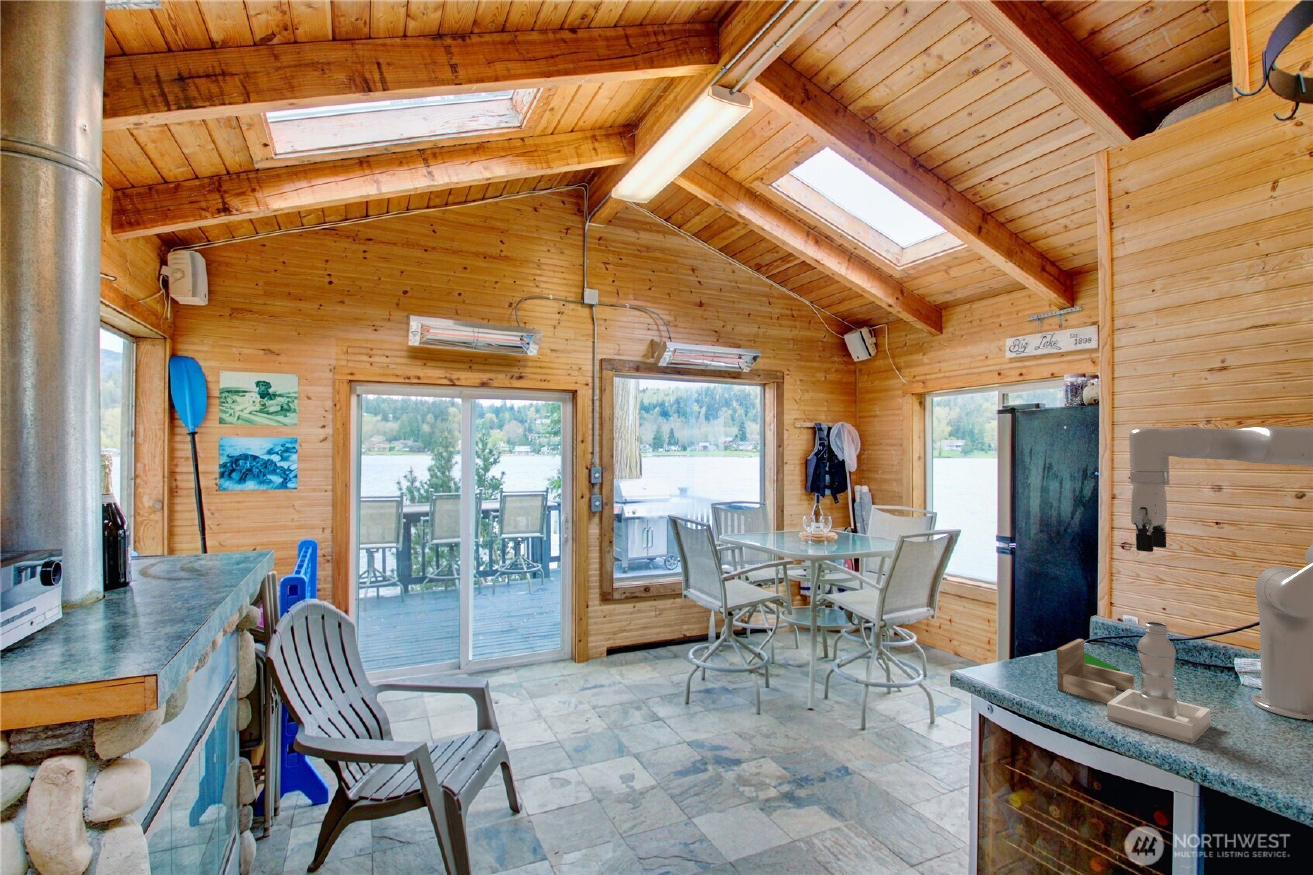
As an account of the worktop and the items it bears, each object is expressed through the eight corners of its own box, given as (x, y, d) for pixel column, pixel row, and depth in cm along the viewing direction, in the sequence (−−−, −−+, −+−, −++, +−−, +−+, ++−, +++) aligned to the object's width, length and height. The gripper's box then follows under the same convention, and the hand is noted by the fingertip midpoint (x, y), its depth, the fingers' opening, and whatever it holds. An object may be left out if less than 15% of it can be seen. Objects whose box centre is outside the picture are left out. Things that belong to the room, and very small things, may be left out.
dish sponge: (1085, 660, 175) (1085, 652, 175) (1121, 678, 161) (1121, 669, 161) (1059, 660, 175) (1059, 652, 175) (1093, 679, 161) (1092, 669, 161)
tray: (1210, 725, 133) (1210, 708, 133) (1192, 743, 125) (1191, 726, 125) (1129, 704, 144) (1128, 688, 144) (1107, 719, 136) (1107, 703, 136)
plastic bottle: (1186, 725, 131) (1183, 628, 131) (1149, 722, 132) (1146, 627, 132) (1167, 712, 137) (1165, 620, 137) (1132, 710, 138) (1130, 619, 139)
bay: (1134, 691, 152) (1133, 649, 152) (1114, 705, 143) (1113, 661, 144) (1079, 677, 161) (1078, 638, 161) (1057, 690, 153) (1056, 648, 153)
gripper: (1142, 477, 161) (1144, 544, 161) (1118, 479, 151) (1120, 550, 150) (1179, 478, 155) (1181, 547, 155) (1157, 480, 145) (1159, 554, 144)
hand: (1151, 549), depth 152 cm, fingers open, 9 cm apart
